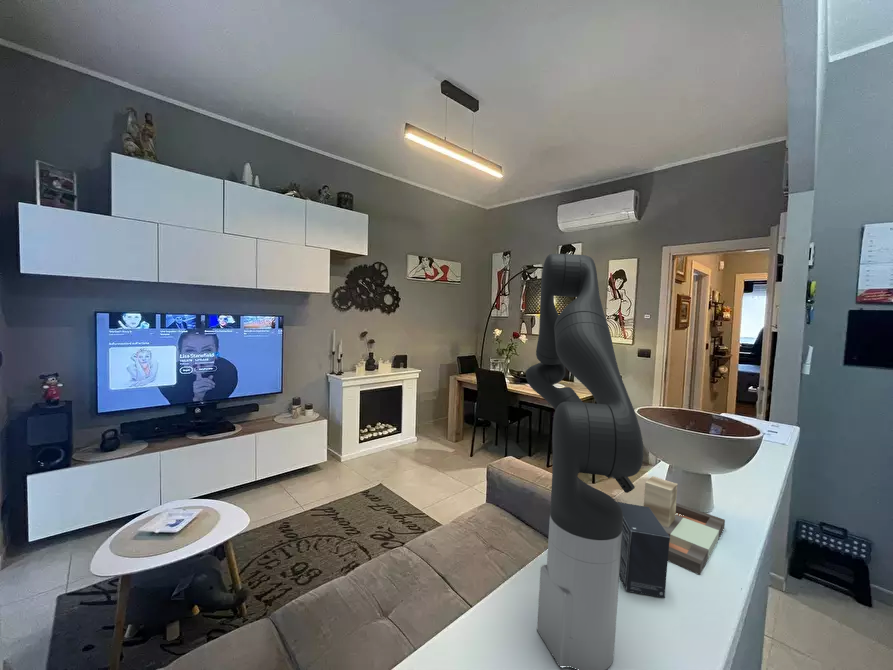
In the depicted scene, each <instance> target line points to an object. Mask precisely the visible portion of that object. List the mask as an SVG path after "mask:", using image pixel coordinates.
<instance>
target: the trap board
mask: <svg viewBox="0 0 893 670" xmlns="http://www.w3.org/2000/svg"><path fill="white" fill-rule="evenodd" d="M676 513H678V515H675V520H674V521H673V523H672V524H671V525H670V526H669V528H668V527H665V526H663V525H662V527H663V528H664V529H665V531H666V532H667V534H668V535H669V536H670V534H671V533H672V531H673V530H674V529H675V528H676V526H677V525H678V524H679V523H680V521H681V520H682V519H683V518H686V519H689V520H692V521H694V522H697V523H700V524H703V525H705V526H708V527H711V528H714V529H716V530H719V537H721V536H720V535H722V534H723V532H724V530H725V525H726V524H725V523H726V519H724V518H721V517H718V516H715V515H712V514H709V513H707V512H703V511H701V510H697V509H694V508H691V507H690V506H687V505H683V504H680V503H677V502H676ZM679 514H681V515H682V516H681V515H680V516H679ZM683 515H684V516H683ZM723 529H724V530H723ZM722 531H723V532H722ZM721 533H722V534H721ZM718 539H719V540H720V538H718ZM708 560H709V558H708V549H706V548H703V547H701V546H698V545H696V544H693V545H692V546H691V548H690V549H689V550H687V549H684V548H682V547H680V546H677V545H675V544H672V543H670V541H669V552H668V562H669V563H672V564H674V565H676V566H678V567H680V568H683V569H685V570H688V571H690V572H692V573H694V574H696V575H699V576H700V575H701V573H702V571H703V570H704V567H705V566H706V564H707V563H708Z"/></svg>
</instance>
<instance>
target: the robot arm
mask: <svg viewBox="0 0 893 670" xmlns="http://www.w3.org/2000/svg"><path fill="white" fill-rule="evenodd" d="M540 279H541V280H540V281H541V283H540V298H539V299H540V300H539V302H540V303H539V330H538V336H537V337H538V339H537V344H536V349H535V356H536V359H537V360H538V361H539V362H538V363H535V364H534V365H531V366H530V367H528V368H527V369H526V372H525V378H526V381H527V383H528V385H529V387H530V388H531V389H532V390H533V391H534V392H535V393H537V394H538V395H539V396H541V397H542V399H544V400H545V401H546V402H547V403H548V404H550V405H551V406H552V408H553V409H554V414H553V420H552V437H551V438H552V467H551V468H552V472H551V473H552V474H551V476H552V477H551V494H550V509H549V522H548V523H549V526H548V537H547V539H548V542H547V555H546V556H547V558H546V559H547V561H546V564H542V565H541V566H540V571H539V575H540V576H539V590H538V606H537V607H538V609H537V625H536V630H537V633H538V634H539V635H540V637H541V639H542V641H543V642H544V644H545V645H546V647H547V649H548V650H549V652H550V654H551V653H552V654H553V655H552V654H551V655H552V657H553V656H554V657H553V659H554V658H555V659H556V660H555V659H554V660H555V662H556V661H557V662H558V664H559V665H560V666H571V667H573V668H576V669H579V670H607V669H609V668H610V666H611V665H612V664H613V661H614V657H615V644H616V632H617V631H616V629H617V615H618V614H617V613H618V601H619V600H618V599H619V586H620V585H619V583H620V576H619V572H620V557H621V543H622V528H623V512H622V509H621V507H620V505H619V504H618V503H617V502H618V501H617V500H616V499H614V498H613V497H612V496H610V495H608V494H607V493H606V492H604V491H602V490H599V489H597V488H596V487H593V486H591V485H589V484H588V483H586V482H584V481H583V480H582V479H580V478H579V474H588V475H589V474H590V475H595V476H596V475H597V476H605V477H606V478H608V479H610V478H612V479H614V480H615V481H616V482H617V483H618V485H619V487H620V488H621V489H622V490H623V492H624V493H625V494H628V493H630V492H632V491H634V489H635V487H636V486H635V485H634V483H633V482H632V481H631V479H630V478H629V477H633V476H635V475H637V474H638V473H639V472H640V471H641V468H642V467H643V466H642V465H643V462H644V442H643V437H642V436H643V435H642V431H641V427H640V424H639V420H638V417H637V414H636V412H635V409H634V406H633V403H632V401H631V399H630V396H629V393H628V391H627V388H626V386H625V383H624V381H623V379H622V376H621V372H620V370H619V366H618V362H617V357H616V354H615V349H614V344H613V341H612V340H613V339H612V335H611V332H610V331H611V330H610V328H609V325H608V322H607V321H608V320H607V318H606V315H605V312H604V308H603V304H602V301H601V296H600V289H599V282H598V281H599V280H598V273H597V267H596V263H595V261H594V259H593V257H591V256H588V255H586V254H585V255H584V254H573V253H570V254H569V253H550V254H549V255H547V256H546V258H545V259H544V263H543V267H542V271H541V278H540ZM555 297H570V298H575V299H573V300H572V301H571V302H570V303H569V304H567V306H565V308H564V309H562V311H561V312H560V313H559V312H558V310H557V308H556V305H555ZM566 370H567V371H568V372H570V373H571V374H572V376H573V377H574V378H575V379H576V380H578V381H579V383H581V384H582V385H583V386H584V387H585V388H586V389H587V390H588V391H589V392H590V394H591V395H592V396H593V398H594V400H595V402H596V403H593V402H583V400H582V399H581V398H580V397H579V396H578V394H577V393H576V391H575V390H574V389H573V388H571V387H570V386H567V387H566V386H565V387H556V386H554V385H557V384H558V383H560V382H562V380H563V379H564V378H565V377H566ZM557 662H556V663H557ZM558 664H557V665H558ZM559 665H558V666H559Z"/></svg>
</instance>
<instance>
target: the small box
mask: <svg viewBox="0 0 893 670" xmlns="http://www.w3.org/2000/svg"><path fill="white" fill-rule="evenodd" d="M616 502H617V503H618V504H619V505H620V507H621V509H622V512H623V528H622V543H621V557H620V572H619V579H620V580H621V583H622V585H623V588H624V590H625V591H626V592H628V593H629V592H630V593H634V594H635V593H636V594H641V595H646V596H651V597H656V598H661V599H665V598H666V586H667V585H666V584H667V574H668V562H669V561H668V552H669V541H670V536H669V535H668V534H667V532H666V531H665V529H664V528H663V527H662V525H661V524H660V522H659V521H658V519H657V518H656V517H655V515H654V514H653V512H652V511H651V509H650V508H649V507H646V506H644V505H637V504H632V503H628V502H627V503H626V502H621V501H620V502H619V501H616Z"/></svg>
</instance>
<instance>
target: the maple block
mask: <svg viewBox="0 0 893 670" xmlns="http://www.w3.org/2000/svg"><path fill="white" fill-rule="evenodd" d="M678 485H679V484H678V483H677V482H673V481H669V480H666V479H663V478H659V477H656V476H651V477H650V478H648V480H646V481H645V482H644V494H643V495H644V498H643V506H646V507H649V508H650V509H651V511H652V512H653V514H654V515H655V517H656V518H657V519H658V521H659V522H660V524H661V525H663V526H665V527H668V528H669V526H670V525H671V524H672V523H673V521H674V520H675V514H676V503H677V498H678Z"/></svg>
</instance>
